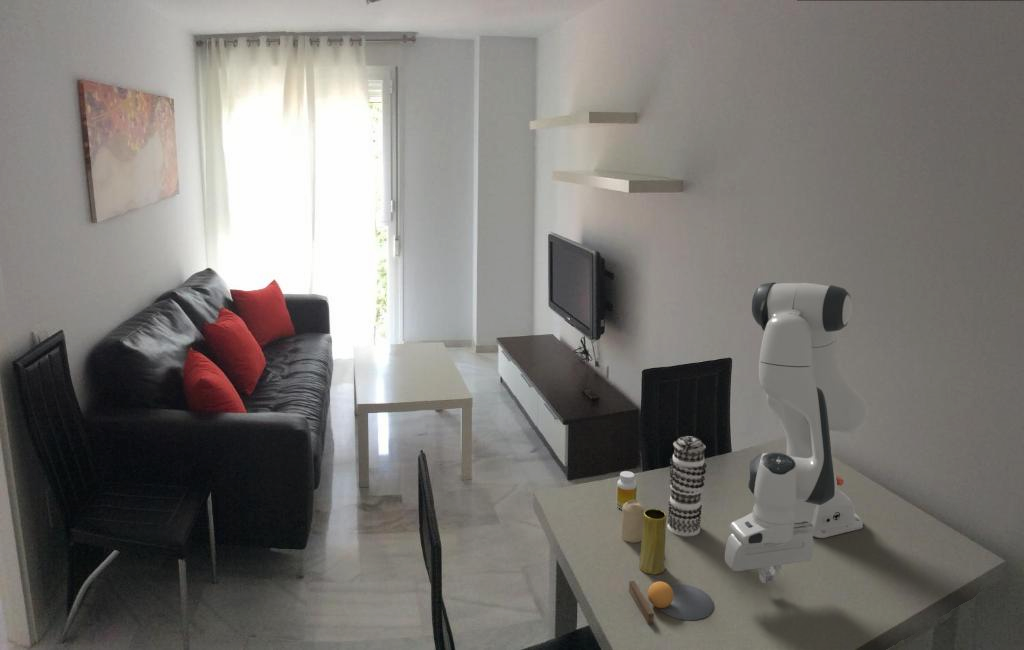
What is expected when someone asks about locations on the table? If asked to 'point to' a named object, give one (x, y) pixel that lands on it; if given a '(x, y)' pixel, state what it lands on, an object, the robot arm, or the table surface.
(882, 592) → the table surface
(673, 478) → the decorative candle
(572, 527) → the table surface
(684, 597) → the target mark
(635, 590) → the stopper strip
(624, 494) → the supplement bottle
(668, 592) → the ball
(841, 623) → the table surface
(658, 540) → the vase
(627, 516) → the candle
